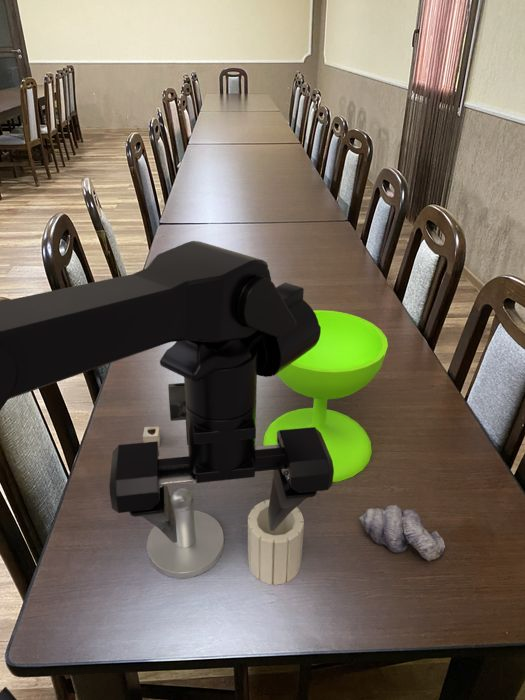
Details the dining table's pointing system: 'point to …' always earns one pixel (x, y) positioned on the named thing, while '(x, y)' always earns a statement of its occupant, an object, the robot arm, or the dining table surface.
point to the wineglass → (334, 387)
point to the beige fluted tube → (274, 545)
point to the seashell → (401, 531)
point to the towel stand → (186, 541)
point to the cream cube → (151, 434)
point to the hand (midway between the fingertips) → (223, 532)
